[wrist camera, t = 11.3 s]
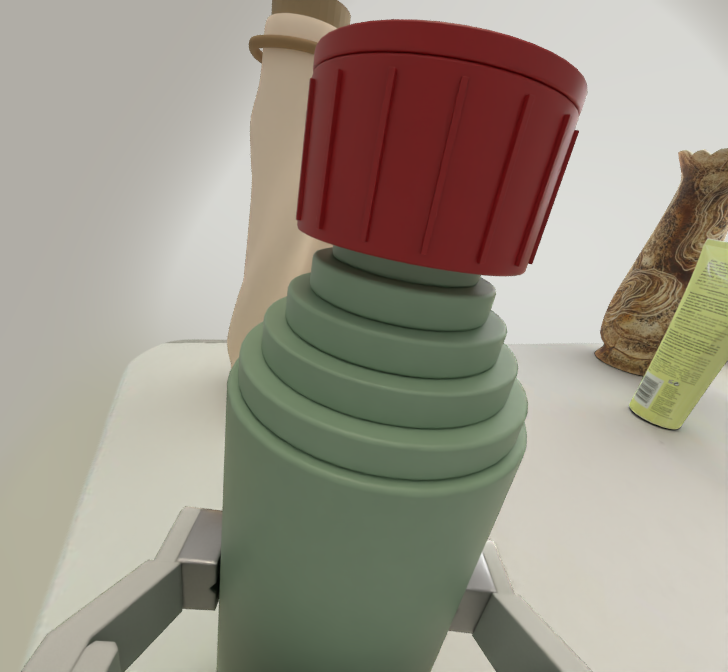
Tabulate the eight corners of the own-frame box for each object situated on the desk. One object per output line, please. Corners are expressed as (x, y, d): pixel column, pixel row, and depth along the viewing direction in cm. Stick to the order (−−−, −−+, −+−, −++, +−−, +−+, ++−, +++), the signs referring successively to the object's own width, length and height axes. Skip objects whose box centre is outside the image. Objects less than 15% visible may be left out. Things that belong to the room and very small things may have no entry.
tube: (678, 417, 42) (778, 250, 34) (694, 439, 37) (812, 254, 30) (623, 399, 44) (706, 238, 36) (632, 419, 39) (729, 240, 32)
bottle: (167, 791, 10) (113, -15, 4) (271, 583, 16) (325, 124, 9) (375, 899, 9) (852, 63, 3) (406, 636, 15) (577, 165, 8)
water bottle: (336, 370, 38) (386, 55, 28) (344, 422, 30) (420, 3, 20) (235, 362, 36) (249, 18, 26) (215, 415, 28) (223, -57, 17)
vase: (678, 377, 54) (800, 163, 43) (640, 383, 50) (767, 144, 38) (611, 348, 63) (699, 162, 52) (573, 350, 58) (661, 146, 47)
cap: (247, 229, 5) (258, 0, 4) (337, 220, 9) (354, 101, 8) (553, 297, 4) (654, 40, 3) (508, 256, 8) (549, 129, 7)
